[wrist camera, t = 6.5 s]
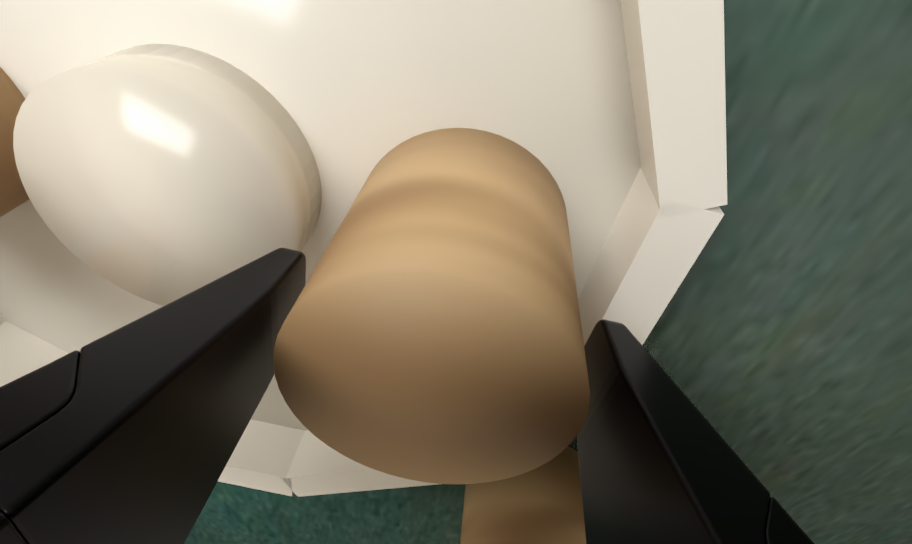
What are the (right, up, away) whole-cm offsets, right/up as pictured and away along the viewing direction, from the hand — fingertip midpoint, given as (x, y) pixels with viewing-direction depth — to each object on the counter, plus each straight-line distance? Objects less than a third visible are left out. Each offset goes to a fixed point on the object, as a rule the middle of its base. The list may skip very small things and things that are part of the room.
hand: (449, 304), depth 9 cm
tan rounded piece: (0, +2, +2) cm, 2 cm away
